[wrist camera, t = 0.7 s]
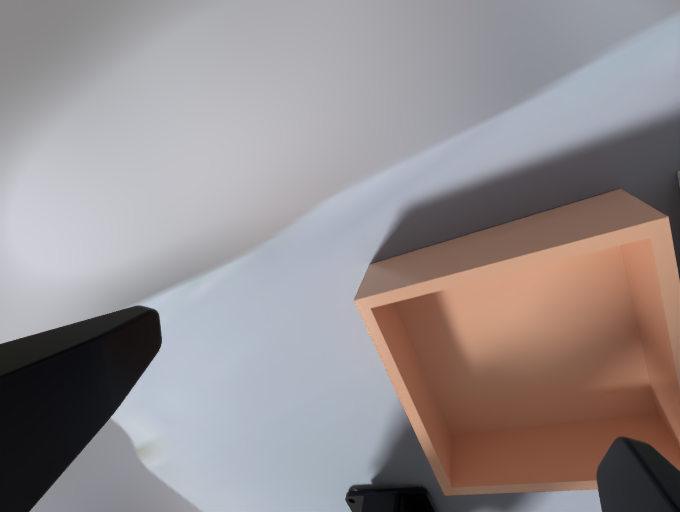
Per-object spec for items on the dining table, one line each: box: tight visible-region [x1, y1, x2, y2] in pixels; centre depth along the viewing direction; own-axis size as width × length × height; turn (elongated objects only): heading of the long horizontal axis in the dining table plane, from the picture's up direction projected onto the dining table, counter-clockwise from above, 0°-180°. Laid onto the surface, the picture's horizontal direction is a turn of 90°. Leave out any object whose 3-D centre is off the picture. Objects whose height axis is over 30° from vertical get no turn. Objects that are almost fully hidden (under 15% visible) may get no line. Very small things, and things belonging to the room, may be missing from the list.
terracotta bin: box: [354, 189, 680, 496], centre depth 19 cm, size 13×12×4 cm
